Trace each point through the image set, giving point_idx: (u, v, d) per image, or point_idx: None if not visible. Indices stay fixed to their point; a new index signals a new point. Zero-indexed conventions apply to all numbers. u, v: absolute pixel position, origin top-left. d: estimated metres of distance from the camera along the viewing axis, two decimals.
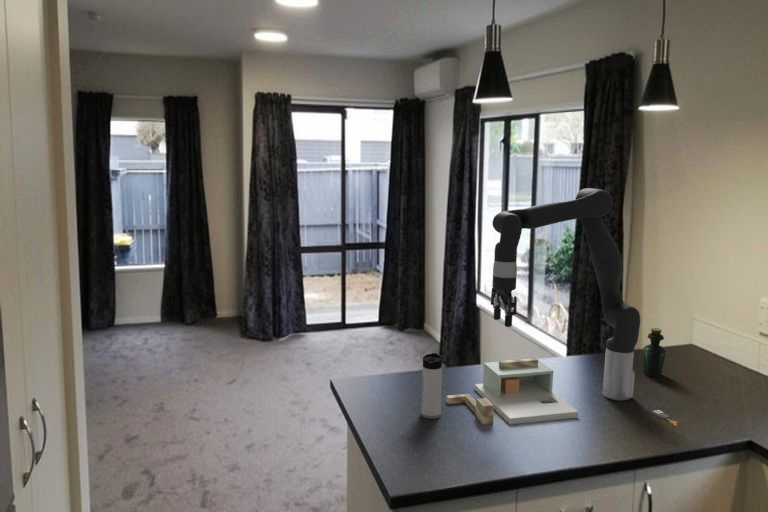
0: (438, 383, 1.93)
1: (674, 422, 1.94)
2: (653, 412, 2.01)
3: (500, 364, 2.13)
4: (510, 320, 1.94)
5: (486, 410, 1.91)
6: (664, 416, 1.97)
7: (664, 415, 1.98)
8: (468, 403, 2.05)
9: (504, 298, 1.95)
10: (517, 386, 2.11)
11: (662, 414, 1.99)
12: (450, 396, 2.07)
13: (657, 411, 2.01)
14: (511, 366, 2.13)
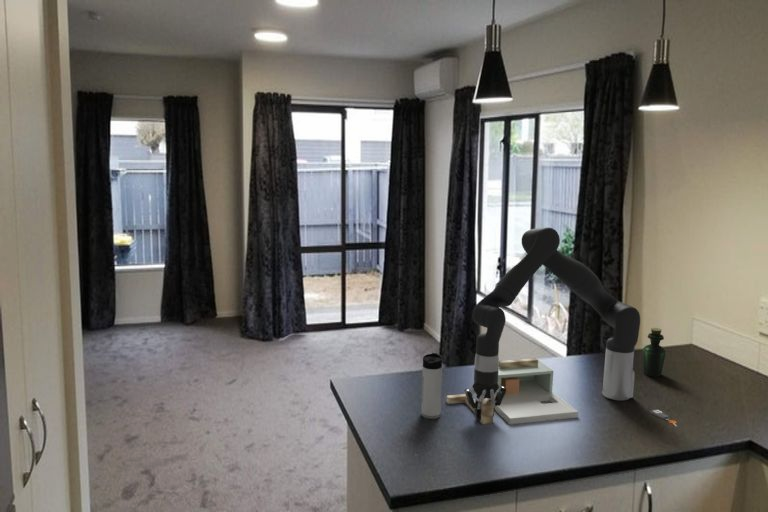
0: (438, 383, 1.93)
1: (673, 422, 1.95)
2: (652, 412, 2.01)
3: (500, 364, 2.13)
4: None
5: (486, 410, 1.91)
6: (663, 416, 1.98)
7: (663, 415, 1.98)
8: (468, 403, 2.05)
9: (495, 389, 1.93)
10: (517, 386, 2.11)
11: (661, 414, 1.99)
12: (450, 396, 2.07)
13: (656, 411, 2.01)
14: (511, 366, 2.13)
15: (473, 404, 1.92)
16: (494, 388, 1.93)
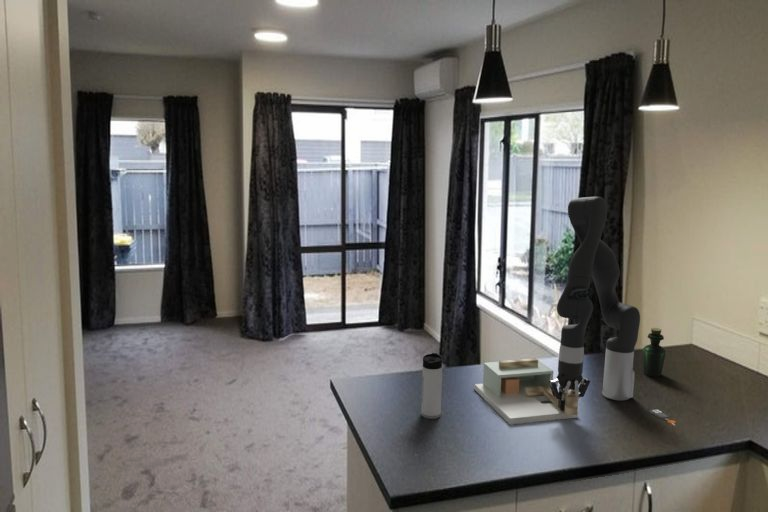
0: (438, 383, 1.93)
1: (672, 422, 1.95)
2: (652, 412, 2.01)
3: (500, 364, 2.13)
4: None
5: (571, 401, 1.92)
6: (662, 416, 1.98)
7: (662, 415, 1.98)
8: (547, 395, 2.06)
9: (579, 380, 1.94)
10: (517, 386, 2.11)
11: (660, 414, 1.99)
12: (528, 388, 2.08)
13: (656, 411, 2.01)
14: (511, 366, 2.13)
15: (557, 395, 1.93)
16: (578, 379, 1.93)
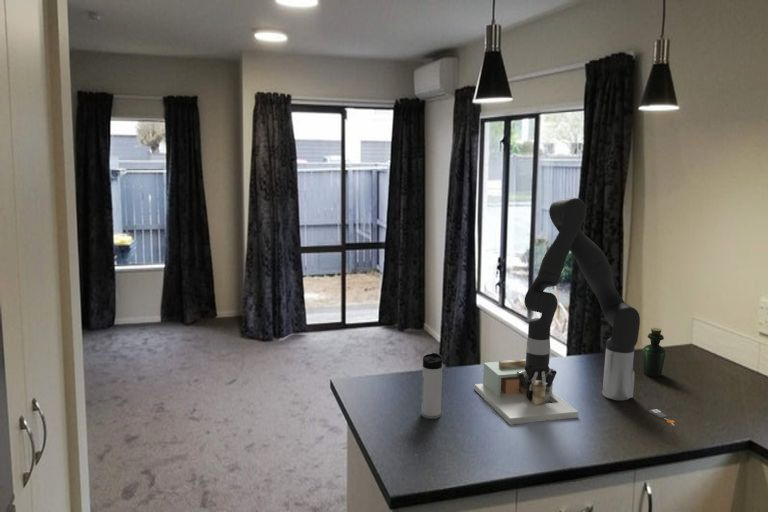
0: (438, 383, 1.93)
1: (671, 421, 1.95)
2: (651, 411, 2.01)
3: (500, 364, 2.13)
4: None
5: (538, 391, 2.01)
6: (661, 415, 1.98)
7: (662, 414, 1.99)
8: None
9: (546, 371, 2.02)
10: (517, 386, 2.11)
11: (660, 413, 1.99)
12: None
13: (655, 410, 2.02)
14: (511, 366, 2.13)
15: (525, 385, 2.01)
16: (545, 370, 2.02)
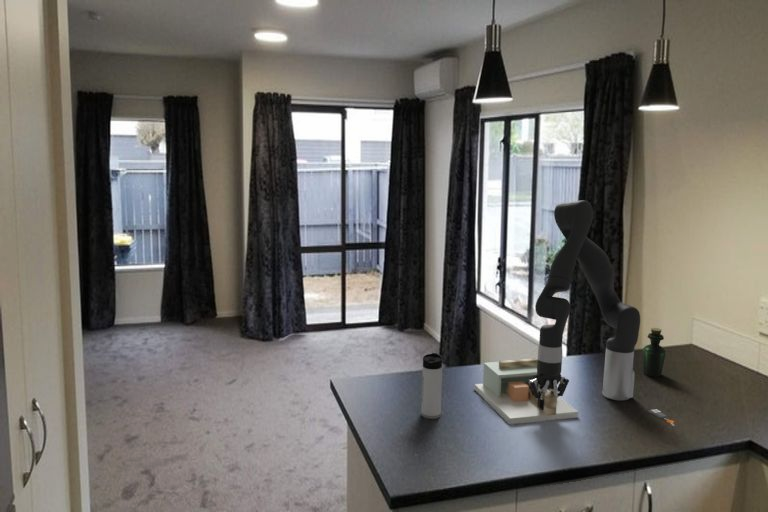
0: (438, 383, 1.93)
1: (671, 421, 1.95)
2: (651, 411, 2.01)
3: (500, 364, 2.13)
4: None
5: (550, 402, 1.93)
6: (661, 415, 1.98)
7: (661, 414, 1.99)
8: (528, 395, 2.07)
9: (558, 380, 1.95)
10: (526, 394, 2.05)
11: (659, 413, 1.99)
12: None
13: (655, 410, 2.02)
14: (511, 366, 2.13)
15: (536, 394, 1.94)
16: (557, 379, 1.95)
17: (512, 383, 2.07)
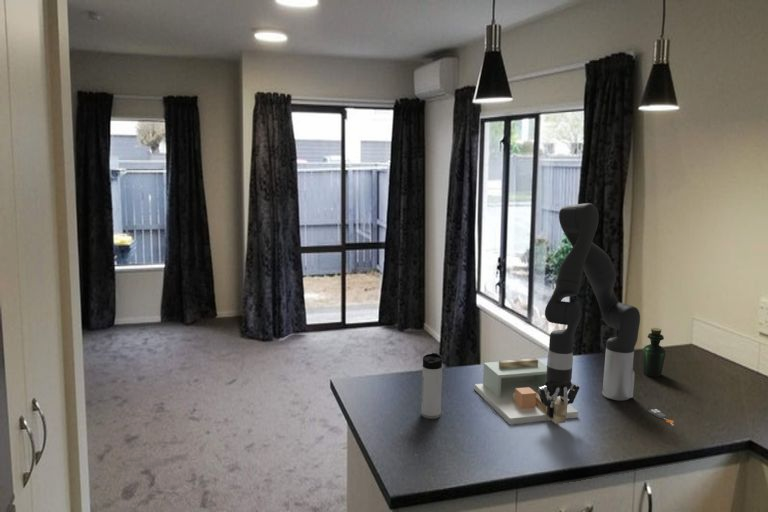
0: (438, 383, 1.93)
1: (670, 421, 1.95)
2: (650, 411, 2.01)
3: (500, 364, 2.13)
4: None
5: (559, 410, 1.88)
6: (661, 415, 1.98)
7: (661, 414, 1.99)
8: (536, 401, 2.02)
9: (568, 387, 1.89)
10: (534, 400, 1.99)
11: (659, 413, 1.99)
12: None
13: (654, 410, 2.02)
14: (511, 366, 2.13)
15: (546, 402, 1.88)
16: (567, 386, 1.89)
17: (519, 389, 2.02)
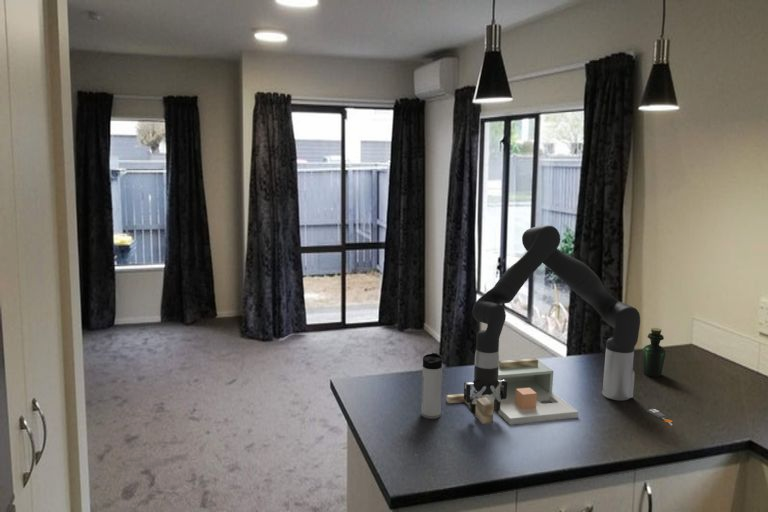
0: (438, 383, 1.93)
1: (669, 421, 1.95)
2: (649, 411, 2.02)
3: (500, 364, 2.13)
4: None
5: (486, 410, 1.92)
6: (659, 415, 1.98)
7: (659, 414, 1.99)
8: None
9: (495, 385, 1.93)
10: (534, 401, 1.99)
11: (658, 413, 2.00)
12: (450, 396, 2.08)
13: (653, 410, 2.02)
14: (511, 366, 2.13)
15: (467, 399, 1.91)
16: (494, 384, 1.93)
17: (520, 390, 2.01)
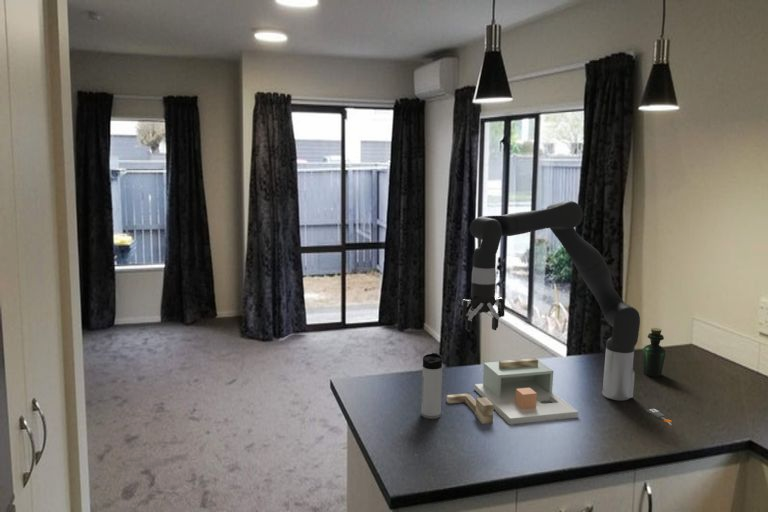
0: (438, 383, 1.93)
1: (668, 421, 1.95)
2: (648, 411, 2.02)
3: (500, 364, 2.13)
4: None
5: (486, 410, 1.92)
6: (659, 415, 1.98)
7: (659, 414, 1.99)
8: (468, 402, 2.06)
9: (492, 303, 1.93)
10: (534, 401, 1.99)
11: (657, 413, 2.00)
12: (450, 396, 2.08)
13: (652, 410, 2.02)
14: (511, 366, 2.13)
15: (463, 315, 1.91)
16: (491, 302, 1.93)
17: (520, 390, 2.01)
